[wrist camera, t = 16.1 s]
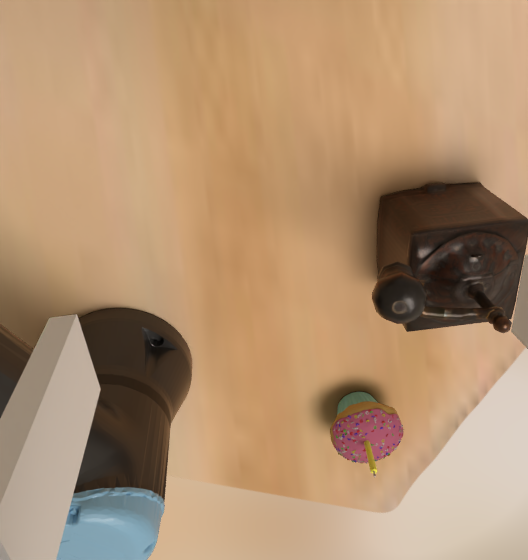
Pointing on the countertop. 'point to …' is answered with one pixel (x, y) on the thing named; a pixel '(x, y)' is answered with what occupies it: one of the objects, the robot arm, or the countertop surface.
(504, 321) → the coffee grinder
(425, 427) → the countertop surface
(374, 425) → the cupcake
